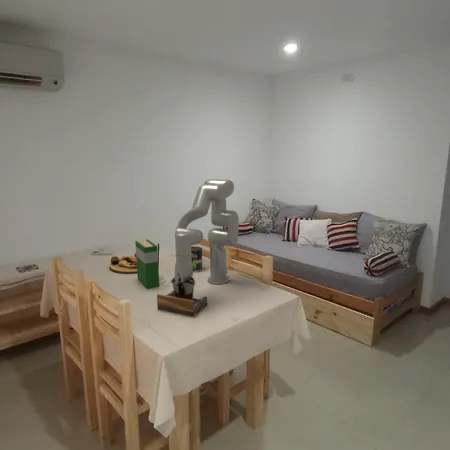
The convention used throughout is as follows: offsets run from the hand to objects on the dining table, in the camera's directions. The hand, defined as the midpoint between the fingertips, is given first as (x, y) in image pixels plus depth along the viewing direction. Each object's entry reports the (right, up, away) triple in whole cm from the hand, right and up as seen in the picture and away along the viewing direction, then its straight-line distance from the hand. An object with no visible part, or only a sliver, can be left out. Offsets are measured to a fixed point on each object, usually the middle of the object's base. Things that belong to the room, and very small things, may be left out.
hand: (185, 291), depth 180 cm
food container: (0, -3, +1) cm, 3 cm away
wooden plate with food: (-41, +5, +63) cm, 76 cm away
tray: (-1, -7, -1) cm, 8 cm away
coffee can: (0, +4, +55) cm, 55 cm away
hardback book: (-25, -1, +32) cm, 41 cm away
